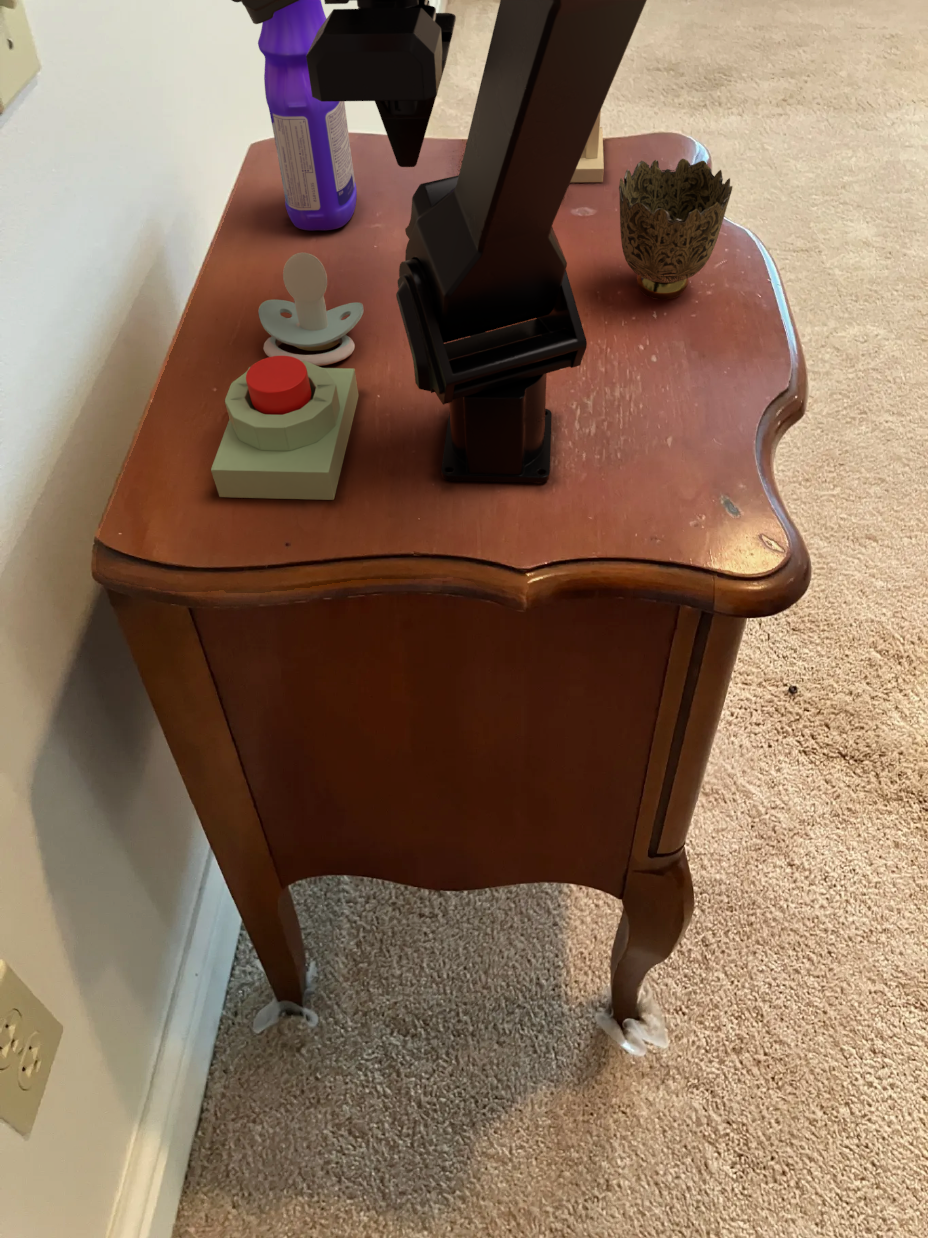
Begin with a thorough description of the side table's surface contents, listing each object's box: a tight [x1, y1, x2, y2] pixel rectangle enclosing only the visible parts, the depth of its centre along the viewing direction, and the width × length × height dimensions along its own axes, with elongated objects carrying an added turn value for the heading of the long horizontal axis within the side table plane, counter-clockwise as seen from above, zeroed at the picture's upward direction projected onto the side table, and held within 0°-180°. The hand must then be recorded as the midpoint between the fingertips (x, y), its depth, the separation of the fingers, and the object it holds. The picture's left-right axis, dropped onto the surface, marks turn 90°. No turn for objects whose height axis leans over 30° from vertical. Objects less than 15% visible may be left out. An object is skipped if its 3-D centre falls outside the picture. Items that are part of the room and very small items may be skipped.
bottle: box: [257, 0, 358, 231], centre depth 71 cm, size 7×6×17 cm
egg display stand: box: [570, 109, 605, 183], centre depth 78 cm, size 8×6×10 cm
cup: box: [618, 158, 733, 301], centre depth 66 cm, size 8×7×8 cm
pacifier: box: [257, 251, 364, 367], centre depth 64 cm, size 7×6×6 cm
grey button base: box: [210, 361, 360, 501], centre depth 58 cm, size 10×7×4 cm
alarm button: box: [246, 356, 311, 415], centre depth 56 cm, size 4×4×2 cm
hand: (407, 164), depth 57 cm, fingers closed
